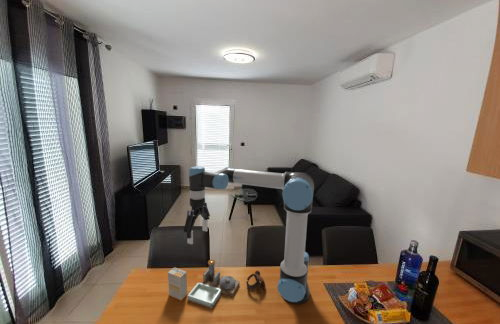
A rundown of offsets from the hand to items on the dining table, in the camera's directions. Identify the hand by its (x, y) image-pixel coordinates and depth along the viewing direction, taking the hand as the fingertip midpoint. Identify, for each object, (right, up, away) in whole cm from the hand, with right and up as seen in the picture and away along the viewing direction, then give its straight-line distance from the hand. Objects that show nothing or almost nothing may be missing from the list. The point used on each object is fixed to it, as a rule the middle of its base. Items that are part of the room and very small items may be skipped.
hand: (198, 236), depth 110 cm
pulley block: (+11, -28, +5) cm, 30 cm away
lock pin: (+6, -25, +6) cm, 27 cm away
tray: (+4, -29, -3) cm, 29 cm away
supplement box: (-9, -29, -2) cm, 30 cm away
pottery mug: (+30, -29, +5) cm, 42 cm away
